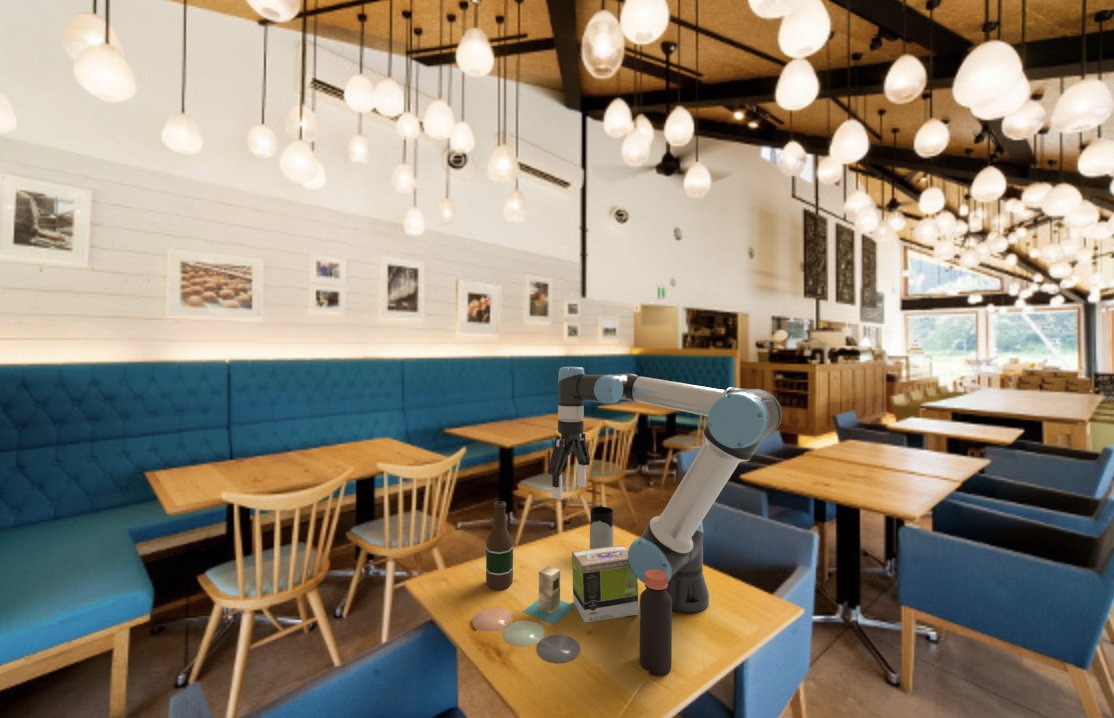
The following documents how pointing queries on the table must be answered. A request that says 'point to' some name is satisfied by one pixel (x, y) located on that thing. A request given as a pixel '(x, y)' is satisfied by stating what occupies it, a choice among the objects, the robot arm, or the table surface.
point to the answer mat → (547, 617)
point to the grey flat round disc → (558, 649)
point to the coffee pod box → (604, 584)
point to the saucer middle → (523, 633)
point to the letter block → (549, 589)
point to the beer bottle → (499, 551)
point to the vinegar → (656, 624)
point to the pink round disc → (492, 619)
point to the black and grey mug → (601, 527)
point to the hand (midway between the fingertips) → (569, 492)
